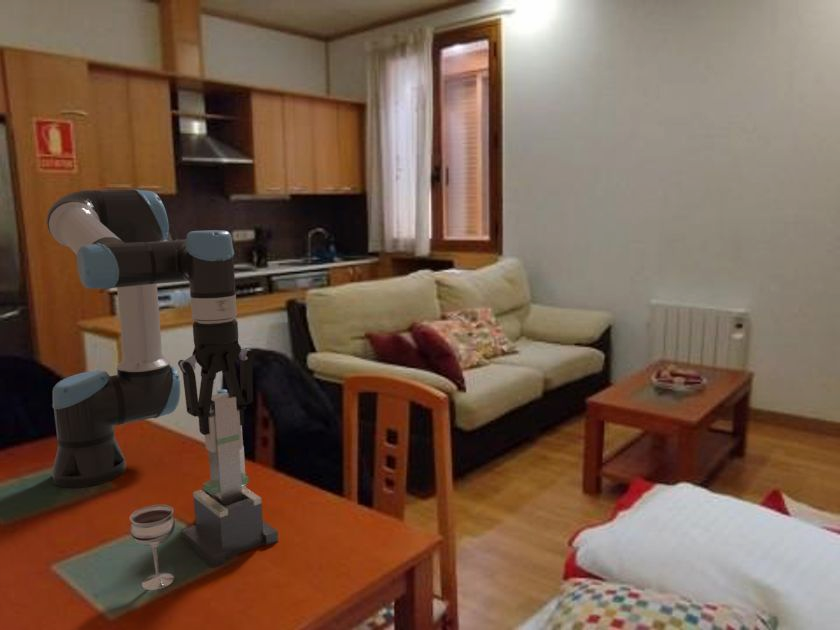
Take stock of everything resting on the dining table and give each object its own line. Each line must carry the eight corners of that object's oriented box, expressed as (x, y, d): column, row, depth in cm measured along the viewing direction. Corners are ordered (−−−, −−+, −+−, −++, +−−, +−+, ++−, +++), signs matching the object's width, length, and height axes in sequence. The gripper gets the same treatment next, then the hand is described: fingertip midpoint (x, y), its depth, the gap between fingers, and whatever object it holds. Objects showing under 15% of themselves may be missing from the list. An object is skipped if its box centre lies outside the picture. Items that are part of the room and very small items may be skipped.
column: (213, 511, 115) (205, 403, 112) (203, 504, 118) (195, 398, 115) (250, 499, 120) (244, 394, 116) (240, 491, 123) (233, 390, 119)
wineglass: (176, 590, 105) (170, 521, 103) (131, 596, 104) (124, 526, 102) (182, 567, 112) (177, 502, 109) (140, 572, 110) (134, 506, 108)
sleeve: (181, 539, 121) (178, 494, 119) (244, 516, 129) (242, 474, 128) (212, 567, 111) (208, 519, 110) (278, 541, 120) (275, 495, 118)
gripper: (174, 329, 105) (185, 466, 109) (269, 315, 116) (276, 440, 120) (157, 323, 110) (168, 453, 114) (249, 311, 121) (256, 429, 125)
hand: (223, 446), depth 117 cm, fingers closed on column, 4 cm apart
